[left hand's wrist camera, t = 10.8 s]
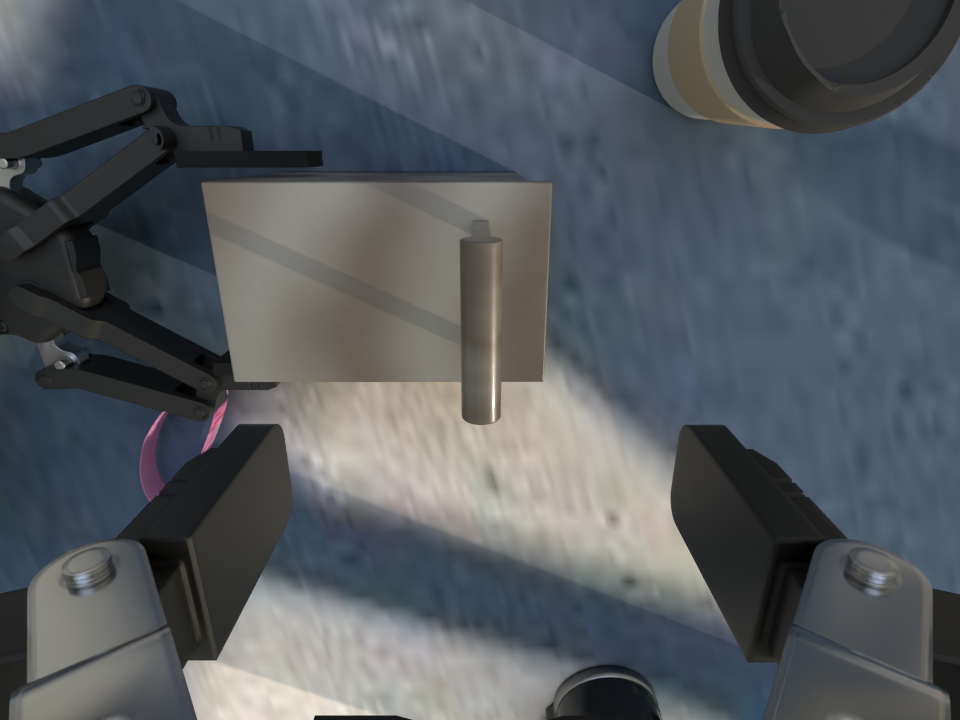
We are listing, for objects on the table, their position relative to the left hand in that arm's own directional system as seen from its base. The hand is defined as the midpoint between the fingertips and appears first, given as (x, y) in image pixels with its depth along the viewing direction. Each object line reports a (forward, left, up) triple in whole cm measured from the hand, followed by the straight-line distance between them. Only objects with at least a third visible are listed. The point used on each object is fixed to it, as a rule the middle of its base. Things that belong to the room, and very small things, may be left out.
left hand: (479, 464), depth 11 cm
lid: (-3, +3, -16) cm, 17 cm away
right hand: (-6, +6, -21) cm, 22 cm away
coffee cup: (+18, -1, -27) cm, 32 cm away
